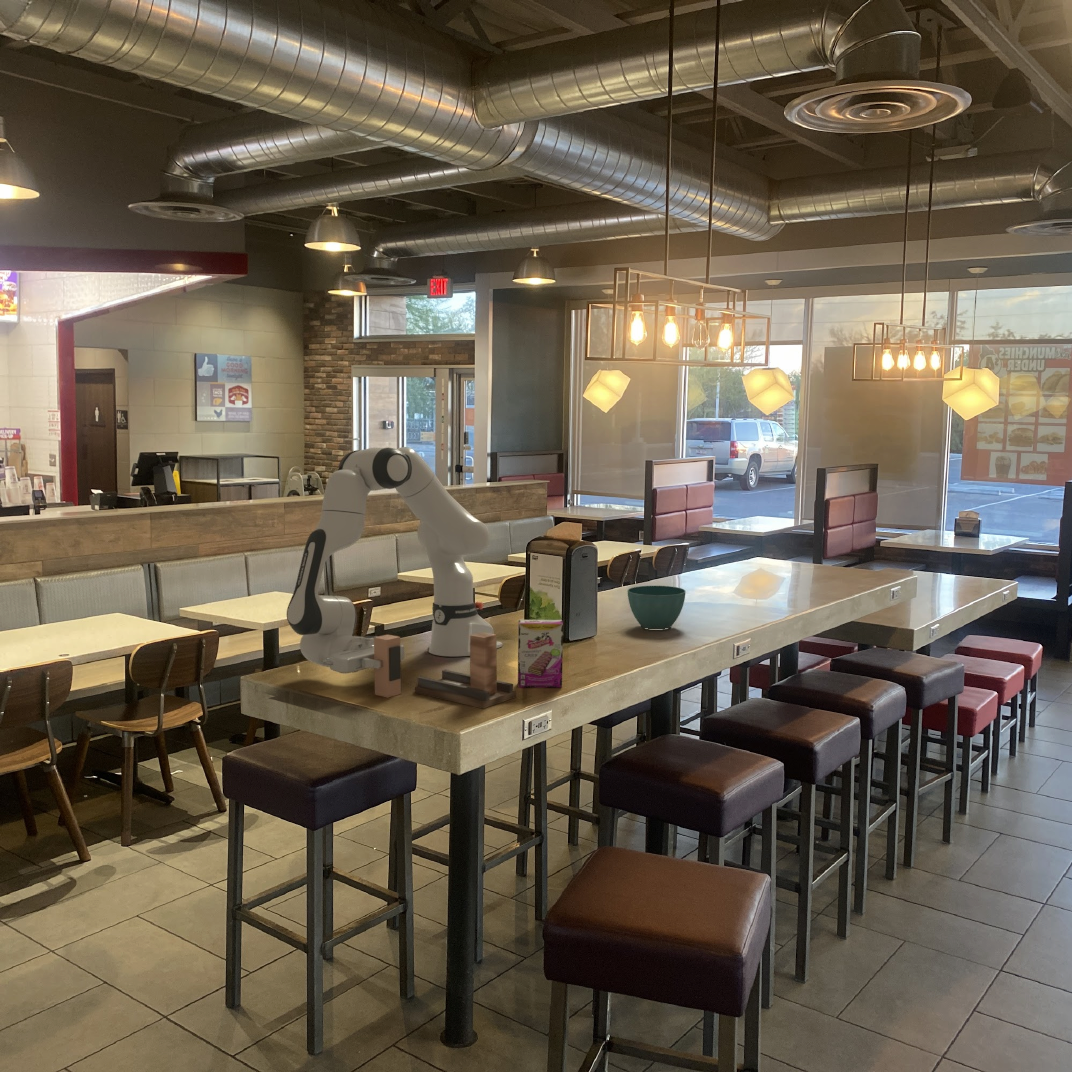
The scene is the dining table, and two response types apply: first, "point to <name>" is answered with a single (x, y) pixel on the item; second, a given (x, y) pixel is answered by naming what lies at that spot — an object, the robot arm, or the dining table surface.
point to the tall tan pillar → (388, 665)
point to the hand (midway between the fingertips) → (390, 662)
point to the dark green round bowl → (656, 605)
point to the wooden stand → (472, 678)
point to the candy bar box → (540, 653)
